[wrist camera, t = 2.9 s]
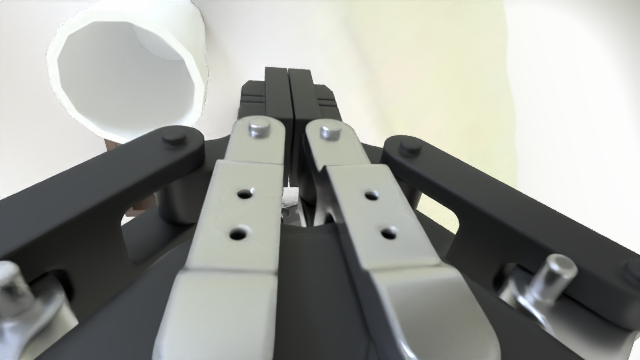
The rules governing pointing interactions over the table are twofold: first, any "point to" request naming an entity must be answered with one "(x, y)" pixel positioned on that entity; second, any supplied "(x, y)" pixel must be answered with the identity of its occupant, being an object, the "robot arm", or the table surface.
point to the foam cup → (131, 66)
